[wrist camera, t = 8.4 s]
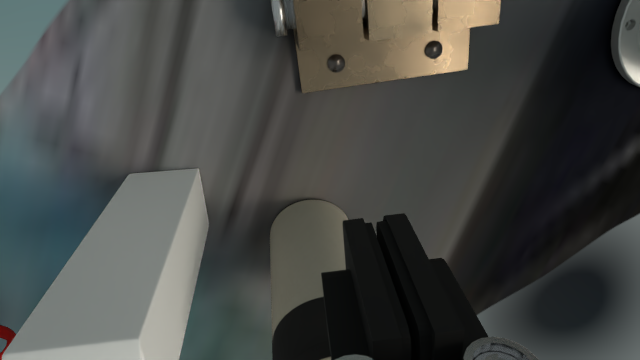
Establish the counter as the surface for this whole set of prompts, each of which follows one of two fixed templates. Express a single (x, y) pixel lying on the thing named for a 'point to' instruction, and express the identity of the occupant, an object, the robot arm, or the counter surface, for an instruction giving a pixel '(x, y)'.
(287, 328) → the travel mug
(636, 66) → the robot arm
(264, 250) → the counter surface
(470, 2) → the hinge
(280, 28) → the pin
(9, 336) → the ceramic cup
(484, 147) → the counter surface
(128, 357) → the milk
